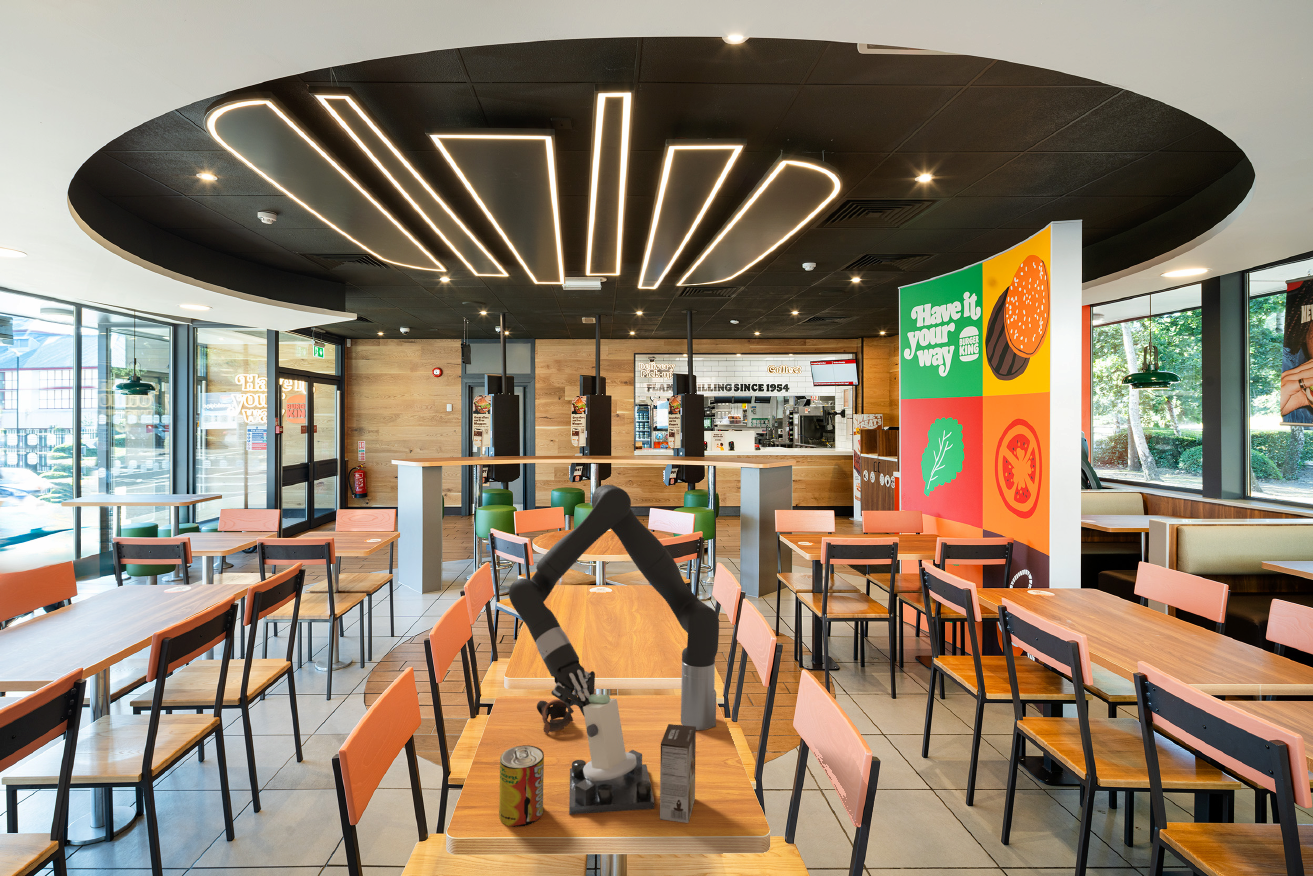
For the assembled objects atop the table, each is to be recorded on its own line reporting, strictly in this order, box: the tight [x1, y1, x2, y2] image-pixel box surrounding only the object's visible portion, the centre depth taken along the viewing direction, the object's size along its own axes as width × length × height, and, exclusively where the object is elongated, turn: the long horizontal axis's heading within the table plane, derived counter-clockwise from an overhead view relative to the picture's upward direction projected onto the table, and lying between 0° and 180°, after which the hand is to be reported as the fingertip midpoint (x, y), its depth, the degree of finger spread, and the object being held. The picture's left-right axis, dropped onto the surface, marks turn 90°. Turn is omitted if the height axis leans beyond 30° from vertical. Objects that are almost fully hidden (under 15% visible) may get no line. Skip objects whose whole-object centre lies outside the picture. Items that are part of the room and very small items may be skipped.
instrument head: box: [583, 693, 637, 783], centre depth 137 cm, size 12×12×17 cm
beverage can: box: [498, 744, 545, 828], centre depth 127 cm, size 9×9×12 cm
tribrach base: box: [568, 749, 655, 815], centre depth 135 cm, size 18×16×5 cm
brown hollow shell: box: [536, 699, 574, 735], centre depth 165 cm, size 12×10×8 cm
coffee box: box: [659, 723, 697, 824], centre depth 129 cm, size 9×6×16 cm
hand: (592, 717), depth 139 cm, fingers closed
